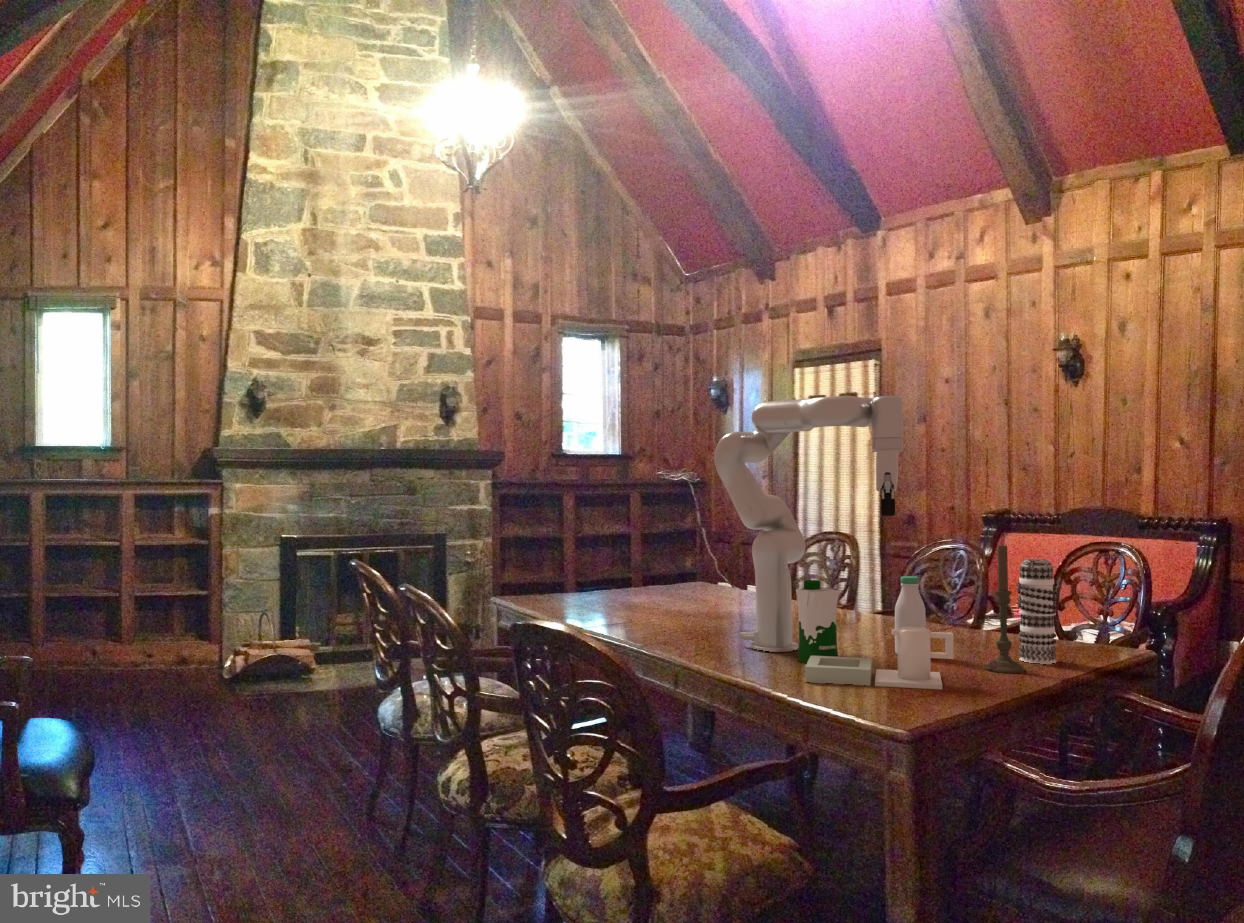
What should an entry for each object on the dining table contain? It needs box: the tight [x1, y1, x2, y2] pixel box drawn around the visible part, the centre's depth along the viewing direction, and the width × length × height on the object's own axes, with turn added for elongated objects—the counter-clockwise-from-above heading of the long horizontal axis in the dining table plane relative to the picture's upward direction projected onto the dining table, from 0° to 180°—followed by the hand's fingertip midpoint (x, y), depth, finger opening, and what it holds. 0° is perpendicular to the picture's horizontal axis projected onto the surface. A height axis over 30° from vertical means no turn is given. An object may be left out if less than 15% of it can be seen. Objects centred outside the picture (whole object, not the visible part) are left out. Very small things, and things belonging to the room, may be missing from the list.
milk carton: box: [795, 579, 840, 664], centre depth 236 cm, size 9×9×20 cm
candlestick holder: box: [983, 542, 1026, 674], centre depth 226 cm, size 9×9×30 cm
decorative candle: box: [1015, 558, 1058, 665], centre depth 236 cm, size 9×9×25 cm
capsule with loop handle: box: [890, 627, 954, 680], centre depth 213 cm, size 13×7×10 cm, turn 77°
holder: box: [804, 656, 873, 687], centre depth 218 cm, size 14×14×4 cm
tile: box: [874, 668, 943, 690], centre depth 213 cm, size 14×14×1 cm
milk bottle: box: [894, 575, 927, 655], centre depth 246 cm, size 8×8×20 cm
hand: (888, 515), depth 236 cm, fingers open, 9 cm apart
